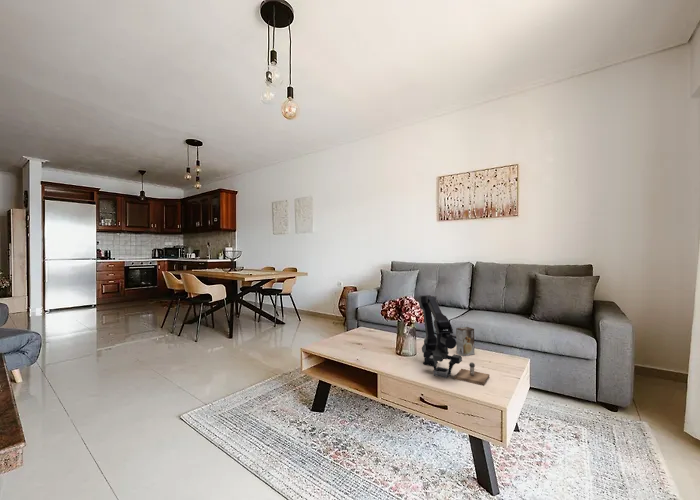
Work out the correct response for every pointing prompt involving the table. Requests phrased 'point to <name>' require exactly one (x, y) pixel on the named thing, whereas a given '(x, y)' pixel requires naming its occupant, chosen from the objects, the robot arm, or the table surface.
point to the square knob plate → (472, 376)
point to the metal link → (441, 372)
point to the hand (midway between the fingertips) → (442, 372)
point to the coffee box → (465, 341)
